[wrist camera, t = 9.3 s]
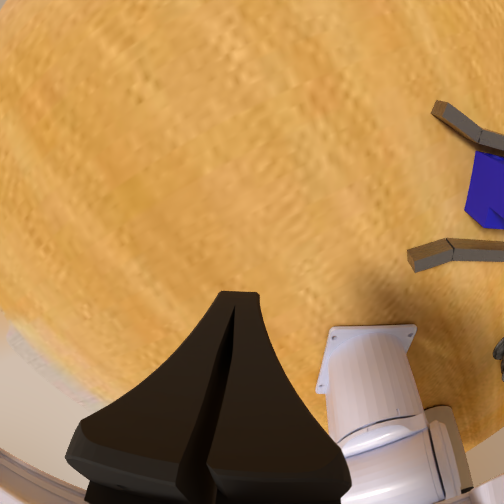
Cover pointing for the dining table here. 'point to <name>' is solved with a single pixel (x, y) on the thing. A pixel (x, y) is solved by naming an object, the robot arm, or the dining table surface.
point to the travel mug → (453, 442)
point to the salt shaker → (500, 355)
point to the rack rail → (451, 247)
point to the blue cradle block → (487, 191)
